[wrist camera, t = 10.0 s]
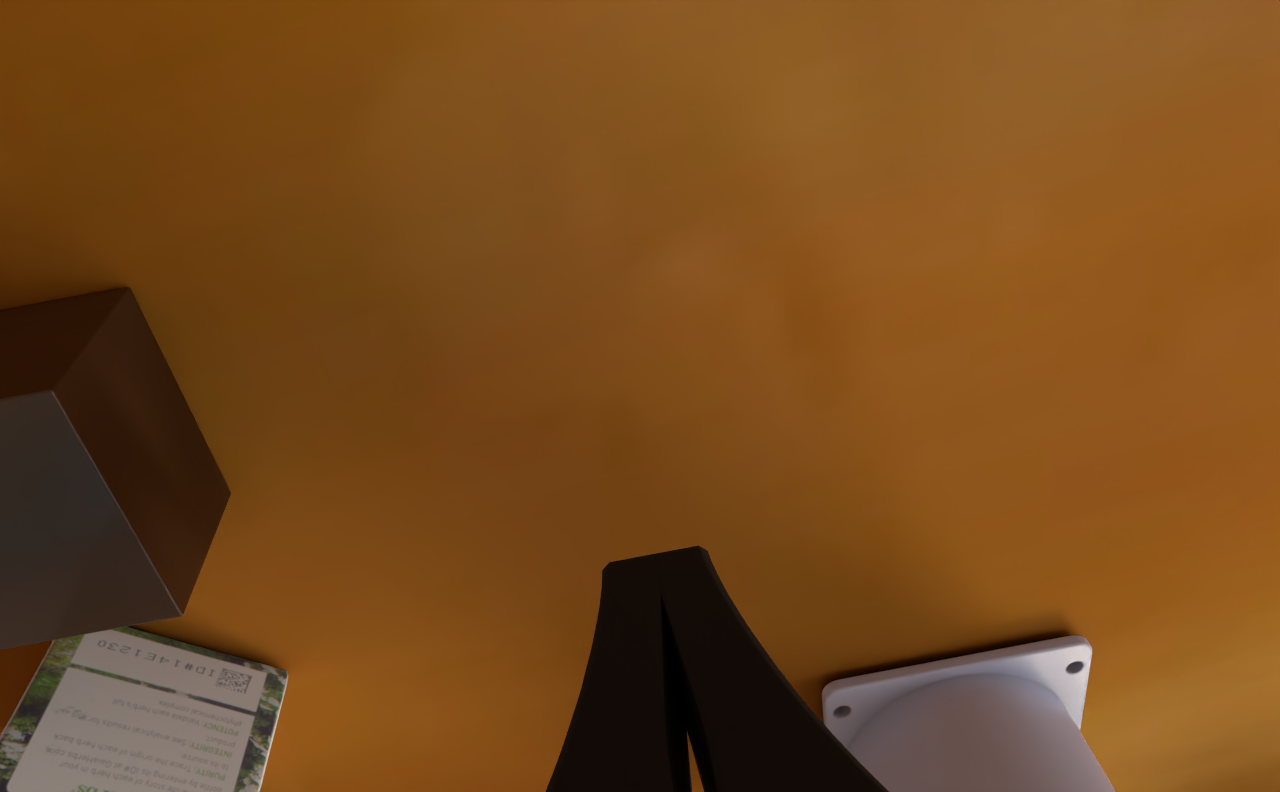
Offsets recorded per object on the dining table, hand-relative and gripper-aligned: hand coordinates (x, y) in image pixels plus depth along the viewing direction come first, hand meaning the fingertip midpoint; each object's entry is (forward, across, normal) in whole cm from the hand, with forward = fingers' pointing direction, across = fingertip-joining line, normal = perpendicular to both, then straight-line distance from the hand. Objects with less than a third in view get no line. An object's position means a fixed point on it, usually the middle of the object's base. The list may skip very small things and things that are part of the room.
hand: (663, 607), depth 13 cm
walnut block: (+9, +12, 0) cm, 15 cm away
